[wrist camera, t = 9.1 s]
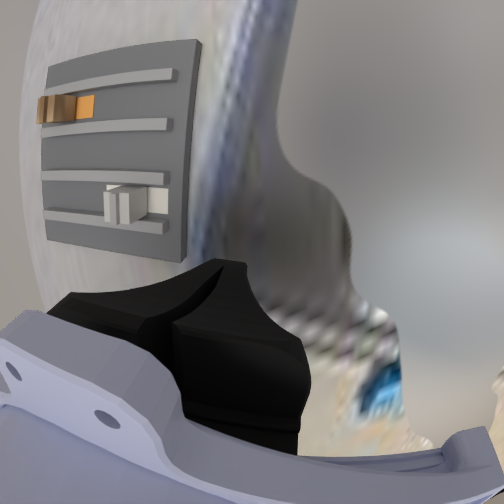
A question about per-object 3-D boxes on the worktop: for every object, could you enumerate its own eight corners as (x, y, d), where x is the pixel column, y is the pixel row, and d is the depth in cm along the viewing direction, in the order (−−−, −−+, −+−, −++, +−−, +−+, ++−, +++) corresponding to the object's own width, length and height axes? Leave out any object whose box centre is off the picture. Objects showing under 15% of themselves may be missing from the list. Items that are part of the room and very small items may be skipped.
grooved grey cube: (146, 214, 20) (126, 226, 17) (123, 212, 20) (101, 223, 17) (146, 186, 19) (125, 194, 16) (122, 185, 19) (99, 193, 16)
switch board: (185, 256, 22) (175, 268, 20) (55, 235, 23) (40, 243, 21) (201, 44, 16) (192, 34, 14) (57, 68, 17) (41, 65, 15)
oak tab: (74, 120, 17) (49, 121, 15) (57, 122, 18) (32, 124, 15) (76, 95, 17) (51, 94, 14) (59, 99, 17) (34, 98, 14)
